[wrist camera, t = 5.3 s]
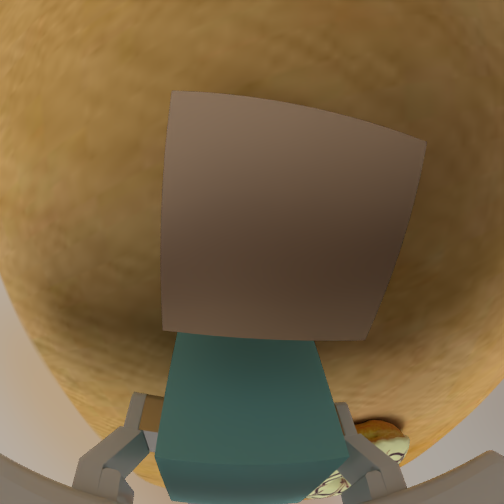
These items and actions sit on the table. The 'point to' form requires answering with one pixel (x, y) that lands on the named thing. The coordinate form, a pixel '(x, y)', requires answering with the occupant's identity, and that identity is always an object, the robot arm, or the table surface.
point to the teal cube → (246, 422)
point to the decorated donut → (380, 436)
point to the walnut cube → (280, 218)
